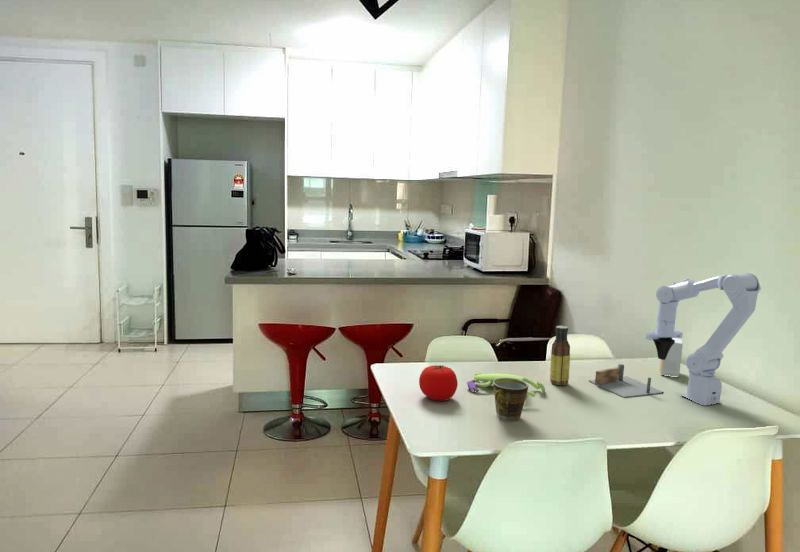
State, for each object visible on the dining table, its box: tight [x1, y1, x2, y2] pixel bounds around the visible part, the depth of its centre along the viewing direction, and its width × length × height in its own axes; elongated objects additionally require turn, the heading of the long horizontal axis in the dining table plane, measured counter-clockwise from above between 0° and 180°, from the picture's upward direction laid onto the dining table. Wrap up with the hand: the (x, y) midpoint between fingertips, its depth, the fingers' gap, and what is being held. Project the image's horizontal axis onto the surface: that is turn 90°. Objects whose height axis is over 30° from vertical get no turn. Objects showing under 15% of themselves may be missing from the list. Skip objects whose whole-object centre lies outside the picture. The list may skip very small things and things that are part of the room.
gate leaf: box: [594, 366, 620, 386], centre depth 213 cm, size 11×1×4 cm, turn 123°
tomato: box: [418, 364, 458, 402], centre depth 191 cm, size 12×12×10 cm
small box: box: [659, 338, 684, 377], centre depth 228 cm, size 8×6×13 cm
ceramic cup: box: [492, 378, 529, 422], centre depth 178 cm, size 13×10×10 cm
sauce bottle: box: [549, 325, 571, 386], centre depth 211 cm, size 6×6×20 cm
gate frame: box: [588, 363, 663, 399], centre depth 211 cm, size 17×17×6 cm
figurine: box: [466, 372, 546, 398], centre depth 202 cm, size 18×27×6 cm
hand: (661, 358), depth 214 cm, fingers closed
